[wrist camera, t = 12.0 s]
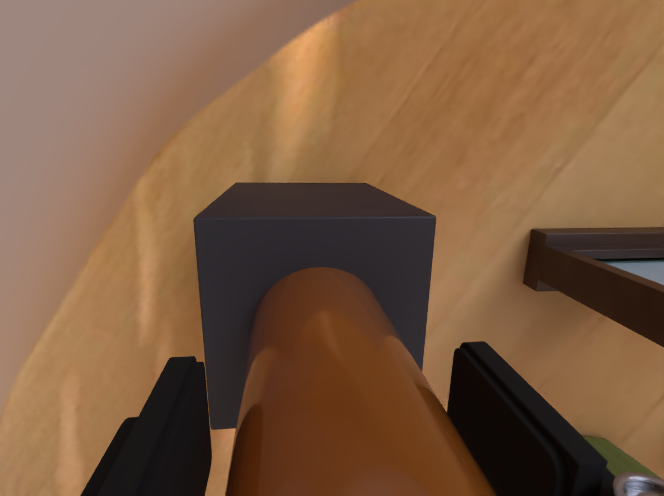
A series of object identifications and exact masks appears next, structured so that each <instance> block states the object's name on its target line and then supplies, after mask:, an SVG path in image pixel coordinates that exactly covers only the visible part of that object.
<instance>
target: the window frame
mask: <svg viewBox="0 0 664 496" xmlns="http://www.w3.org/2000/svg"><path fill="white" fill-rule="evenodd" d="M645 258H664V227H653V228H565V229H532V232H531V239H530V245H529V251H528V257H527V263H526V269H525V275H524V282H523V284H524V285H526V286H528V287H530V288H531V289H533V290H535V291H559V292H561V293H563V294H565V295H567V296H569V297H571V298H573V299H574V300H576V301H578V302H580V303H582V304H584V305H586V306H587V307H589V308H591V309H593V310H595V311H597V312H599V313H601V314H602V315H604V316H606V317H608V318H610V319H612V320H614V321H616V322H617V323H619V324H621V325H623V326H625V327H627V328H629V329H630V330H632V331H634V332H636V333H638V334H640V335H642V336H644V337H645V338H647V339H649V340H651V341H653V342H655V343H657V344H659V345H660V346H662V347H664V285H662V284H660V283H657V282H654V281H652V280H649V279H646V278H644V277H641V276H638V275H635V274H633V273H630V272H627V271H625V270H622V269H619V268H617V267H614V266H611V265H609V264H606V263H603V262H600V261H598V260H602V259H645Z"/></svg>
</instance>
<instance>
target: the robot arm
mask: <svg viewBox="0 0 664 496" xmlns="http://www.w3.org/2000/svg"><path fill="white" fill-rule="evenodd" d="M447 414H448V416H449V417H450V419H451V421H452V422H453V424H454V426H455V427H456V429H457V431H458V432H459V434H460V435H461V437H462V439H463V440H464V442H465V444H466V445H467V447H468V449H469V450H470V452H471V454H472V455H473V457H474V458H475V460H476V462H477V463H478V465H479V467H480V468H481V470H482V472H483V473H484V475H485V477H486V478H487V480H488V481H489V483H490V485H491V486H492V488H493V490H494V491H495V493H496V495H497V496H664V480H663V479H660V478H658V477H655V476H651V475H648V474H645V473H638V472H626V473H621V474H619V475H618V476H617V477H615V476H614V475H613V474H612V473H611V472H610V471H609V470H608V469H607V468H606V467H607V463H608V461H607V460H606V459H605V458H604V457H603V456H602V455H601V454H600V453H599V452H598V451H597V450H596V449H595V448H594V447H593V446H592V445H591V444H590V443H589V442H588V441H587V440H586V439H585V438H584V437H583V436H582V435H580V434H579V433H578V432H577V431H576V430H575V429H574V428H573V427H572V426H571V425H570V424H569V423H568V422H567V421H566V420H565V419H564V418H563V417H562V416H561V415H560V414H559V413H558V412H557V411H556V410H555V409H554V408H553V407H552V406H551V405H550V404H549V403H548V402H547V401H546V400H545V399H544V398H543V397H542V396H541V395H540V394H539V393H537V392H536V391H535V390H534V389H533V388H532V387H531V386H530V385H529V384H528V383H527V382H526V381H525V380H524V379H523V378H522V377H521V376H520V375H519V374H518V373H517V372H516V371H515V370H514V369H513V368H512V367H511V366H510V365H509V364H508V363H507V362H506V361H505V360H504V359H503V358H502V357H501V356H500V355H499V354H498V353H497V352H496V351H495V350H493V349H492V348H491V347H490V346H489V345H488V344H487V343H486V342H463V343H462V344H461V346H460V348H457V349H455V351H454V357H453V366H452V374H451V383H450V392H449V400H448V409H447ZM211 460H212V450H211V437H210V425H209V413H208V401H207V389H206V377H205V366H204V363H203V362H197V361H196V358H195V356H190V357H171V358H170V359H169V360H168V362H167V364H166V365H165V367H164V369H163V371H162V373H161V375H160V377H159V379H158V381H157V382H156V384H155V386H154V388H153V390H152V392H151V394H150V396H149V398H148V400H147V401H146V403H145V405H144V407H143V409H142V411H141V413H140V415H139V417H129V418H127V419H125V420H124V422H123V423H122V424H121V426H120V428H119V429H118V431H117V433H116V435H115V436H114V438H113V440H112V442H111V443H110V445H109V447H108V449H107V450H106V452H105V454H104V456H103V457H102V459H101V461H100V463H99V464H98V466H97V468H96V469H95V471H94V473H93V475H92V476H91V478H90V480H89V482H88V483H87V485H86V487H85V489H84V490H83V492H82V494H81V496H205V491H206V487H207V482H208V478H209V473H210V468H211Z"/></svg>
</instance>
